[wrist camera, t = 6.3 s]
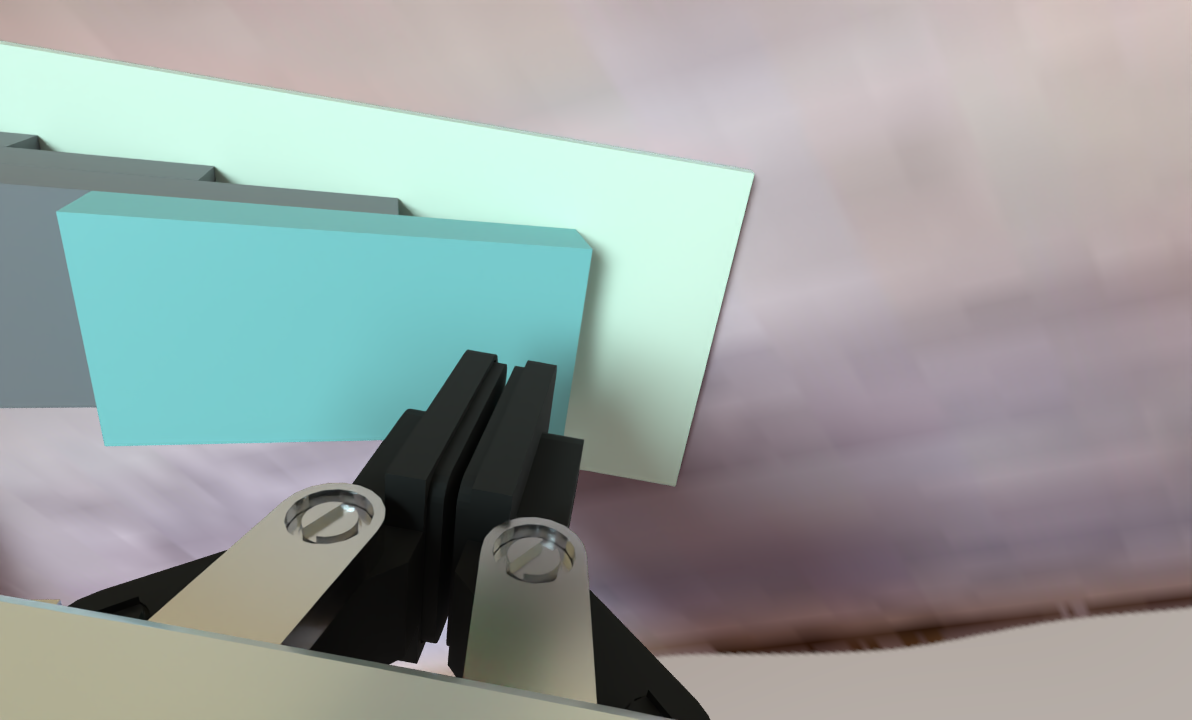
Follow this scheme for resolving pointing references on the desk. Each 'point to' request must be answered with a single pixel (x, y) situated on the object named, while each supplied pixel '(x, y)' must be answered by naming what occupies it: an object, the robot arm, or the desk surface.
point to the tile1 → (304, 314)
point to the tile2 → (41, 278)
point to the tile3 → (106, 164)
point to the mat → (450, 211)
